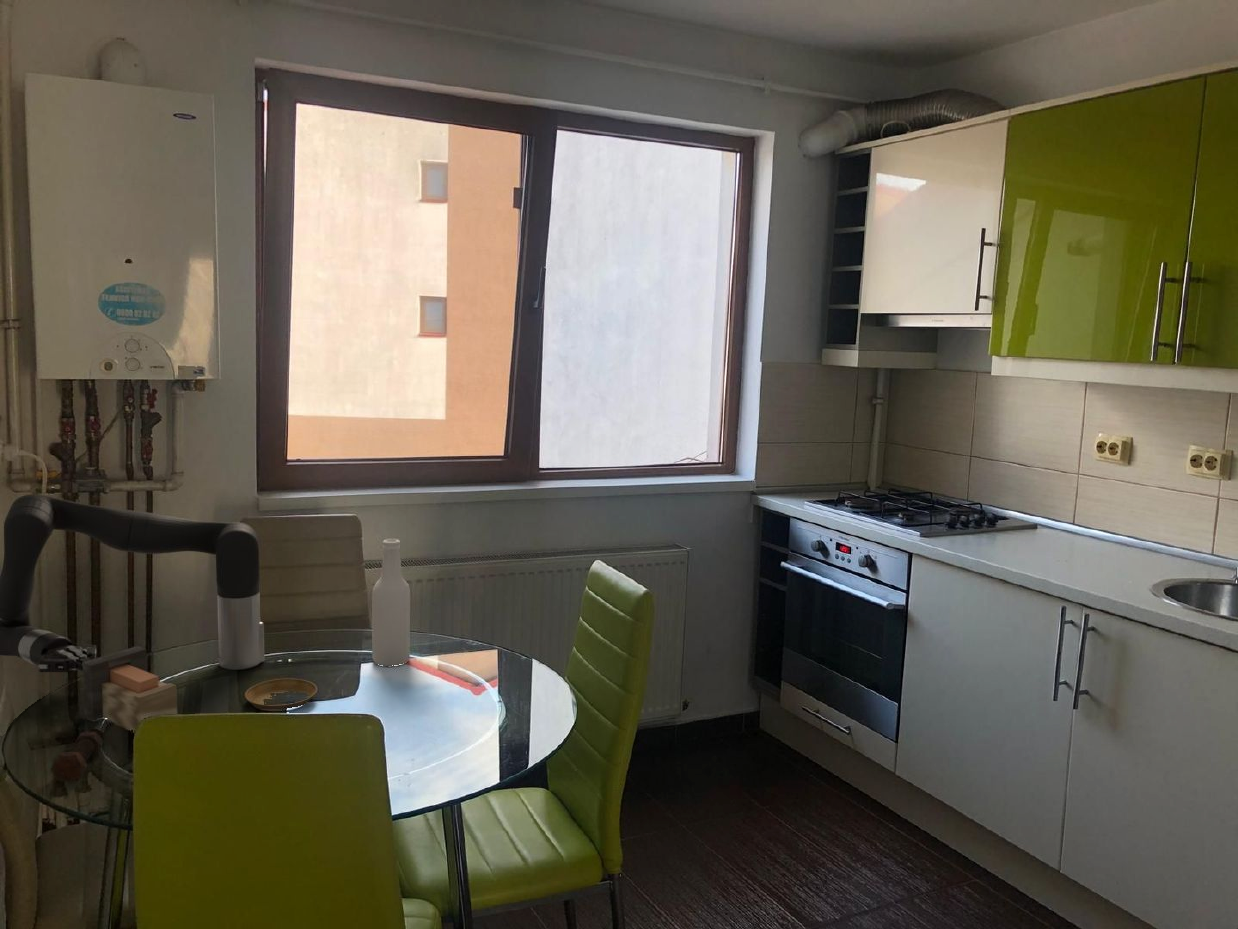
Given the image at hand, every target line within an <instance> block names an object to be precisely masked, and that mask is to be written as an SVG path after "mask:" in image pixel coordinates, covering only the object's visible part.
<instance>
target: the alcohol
mask: <svg viewBox="0 0 1238 929" xmlns="http://www.w3.org/2000/svg"><path fill="white" fill-rule="evenodd" d="M400 543H401V541H400V540H399V539H397V538H386V539H384V540H383V541H382V544H383V545H382V549H383V551H382V562H381V574H380V578H379V579H378V580H377V581H376V582H375V584H374V586H373V589H372V594H371V595H372V596H371V597H372V598H371V599H372V604H371V605H372V607H371V608H372V609H371V610H372V611H371V612H372V614H371V615H372V616H371V617H372V618H371V620H372V621H371V622H372V625H371V626H372V633H371V635H372V637H371V640H372V643H371V646H372V650H371V652H372V655H371V656H372V657H371V658H372V661H373V663H374V664H375V663H376V664H379V665H383V666H392V665H393V666H394V665H399V664H403V663H405V662H407V663H408V661H409V660H410V656H411V654H410V653H411V647H410V646H411V640H410V639H411V635H410V634H411V590H410V586H409V583H407V581H406V580H405V578H404V576H403V575H402V564H401V563H402V562H401V561H402V560H401V551H400V550H401V545H400ZM376 664H375V665H376ZM405 664H406V663H405Z"/></svg>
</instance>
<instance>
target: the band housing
mask: <svg viewBox="0 0 1238 929" xmlns="http://www.w3.org/2000/svg"><path fill="white" fill-rule="evenodd" d="M147 658H148V654H147V648H144V647H141V646H139V645H136V646H133V647H130V648H126V649H124V650H120V651H117V652H113V653H110V654H107V655H106V654H105V655H103V656H100V657H96V659H92V660H89V661H86V662H82V667H83V671H82V681H83V682H82V683H83V701H84V718H85V717H87V718H89V719H91V720H96V719H98V718H102V717H104V718H108V719H109V720H111V721H112V722H114V723H116V724H119V725H120V726H122V727H124V728H125V730H127V731H129V730H130V731H129V732H131V730H133V732H132V733H133V734H135V733H134V731H135V727H136V725H137V724H139V723H140V722H141V720H143V719H144V718H148V717H151V716H156V715H164V714H177V715H178V698H177V697H178V693H177V691H178V690H177V685H176V684H174V683H171V682H169V683H166V682H163V681H159V680H158V685H159V687H157V688H154V689H151V690H148V691H145V692H142V693H139V694H138V693H136V692H133V691H131V690H128V689H126V688H124V687H121V686H119V685H117V684H114V683H112V682H109V668H111V667H114V666H117V665H120V664H124V663H126V664H128V665H131V666H133V667H136V668H138V669H141V670H143V671H146V672H148V659H147ZM116 724H115V725H116ZM120 726H119V727H120ZM122 727H121V728H122ZM124 728H123V729H124Z"/></svg>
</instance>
